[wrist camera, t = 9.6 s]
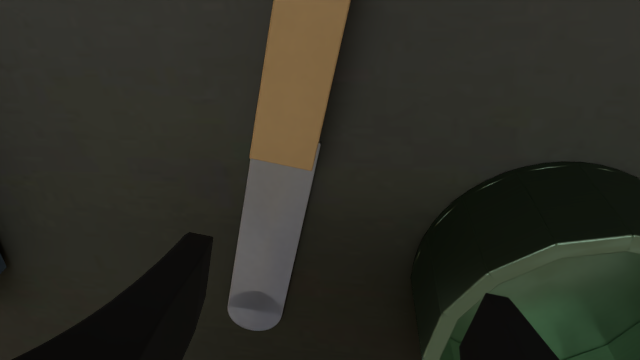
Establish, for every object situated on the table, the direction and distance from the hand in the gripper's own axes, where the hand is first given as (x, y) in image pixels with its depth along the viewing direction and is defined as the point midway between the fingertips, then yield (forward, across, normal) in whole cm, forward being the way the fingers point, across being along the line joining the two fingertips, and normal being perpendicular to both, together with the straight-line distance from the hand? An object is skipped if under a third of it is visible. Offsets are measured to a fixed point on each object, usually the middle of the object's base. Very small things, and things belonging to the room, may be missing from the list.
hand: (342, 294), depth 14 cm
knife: (+10, +2, +2) cm, 10 cm away
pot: (+10, -11, +5) cm, 15 cm away
